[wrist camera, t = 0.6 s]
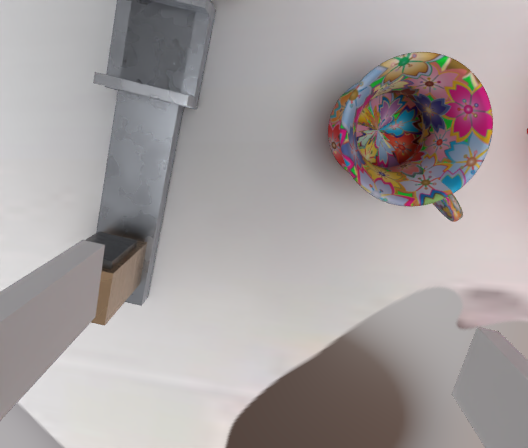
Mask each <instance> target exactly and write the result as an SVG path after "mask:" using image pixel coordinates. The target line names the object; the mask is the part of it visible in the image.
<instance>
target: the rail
mask: <svg viewBox="0 0 528 448" xmlns="http://www.w3.org/2000/svg"><path fill="white" fill-rule="evenodd" d="M215 12H216V9H215V7H214V6H213V4H212V3H211V2H210V0H117V5H116V12H115V19H114V26H113V33H112V40H111V47H110V53H109V60H108V67H107V74H106V75H105V74H101V73H97V72H95V75H94V82H93V83H95V84H100V85H104V86H105V87H107V88H111V89H115V90H118V94H117V101H116V107H115V114H114V120H113V127H112V133H111V140H110V147H109V153H108V160H107V166H106V173H105V179H104V186H103V193H102V199H101V206H100V212H99V219H98V225H97V232H96V234H94V235H93V236H91V237H89V238H88V239H86V240H85V241H90V242H94V243H99V244H103V245H105V249H104V256H103V264H102V271H101V279H100V286H99V294H98V301H97V309H96V316H95V318H94V319H93V320H92V321H91V322H92V323H96V324H101V325H105V324H106V323H107V322H108V321H109V320H110V319H111V317H112V316H113V315H114V314H115V313H116V311H117V310H118V309H119V308H120V307H121V306H122V304H123V303H124V302H128V303H132V304H137V305H141V306H142V304H143V303H144V302H145V300H146V299H147V298H148V294H149V289H150V283H151V278H152V273H153V268H154V262H155V257H156V252H157V246H158V241H159V236H160V230H161V225H162V220H163V215H164V209H165V204H166V199H167V193H168V188H169V183H170V177H171V172H172V167H173V162H174V156H175V151H176V146H177V140H178V135H179V130H180V124H181V119H182V114H183V109H184V107H188V108H193V109H197V104H198V99H199V94H200V89H201V84H202V79H203V73H204V68H205V63H206V58H207V53H208V48H209V43H210V38H211V33H212V27H213V22H214V17H215Z"/></svg>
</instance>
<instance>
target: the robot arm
mask: <svg viewBox="0 0 528 448" xmlns="http://www.w3.org/2000/svg"><path fill="white" fill-rule="evenodd" d="M104 249H105V245H103V244H99V243H94V242H90V241H85V240H82V241H80V242H79V243H77V244H76V245H74V246H72V247H71V248H69V249H68V250H66V251H65V252H63V253H61V254H60V255H58V256H57V257H55V258H53V259H52V260H50V261H49V262H47V263H45V264H44V265H42V266H41V267H39V268H37V269H36V270H34V271H33V272H31V273H30V274H28V275H26V276H25V277H23V278H22V279H20V280H18V281H17V282H15V283H14V284H12V285H10V286H9V287H7V288H6V289H4V290H3V291H1V292H0V421H1V420H2V419H3V417H5V415H6V414H7V413H8V412H9V411H10V410H11V409H12V408H13V407H14V406H15V404H16V403H17V402H18V401H19V400H20V399H21V398H22V397H23V396H24V395H25V394H26V392H27V391H28V390H29V389H30V388H31V387H32V386H33V385H34V384H35V383H36V382H37V380H38V379H39V378H40V377H41V376H42V375H43V374H44V373H45V372H46V371H47V370H48V368H49V367H50V366H51V365H52V364H53V363H54V362H55V361H56V360H57V359H58V357H59V356H60V355H61V354H62V353H63V352H64V351H65V350H66V349H67V348H68V347H69V345H70V344H71V343H72V342H73V341H74V340H75V339H76V338H77V337H78V336H79V335H80V333H81V332H82V331H83V330H84V329H85V328H86V327H87V326H88V325H89V324H90V322H91V321H92V320H93V319H94V318H95V316H96V309H97V301H98V294H99V286H100V279H101V271H102V264H103V256H104ZM452 396H453V397H454V399H455V400H456V402H457V403H458V405H459V407H460V408H461V410H462V412H463V413H464V415H465V416H466V418H467V420H468V421H469V423H470V424H471V426H472V428H473V429H474V431H475V432H476V434H477V435H478V437H479V439H480V440H481V442H482V443H483V445H484V446H485V448H528V359H526V358H525V357H524V356H523V355H522V354H521V353H520V352H519V351H518V350H517V349H516V348H515V347H514V346H513V345H512V344H511V343H510V342H509V341H508V340H507V339H506V338H505V337H504V336H503V335H502V334H501V333H500V332H499V331H495V330H490V329H485V328H481V327H477V329H476V332H475V334H474V337H473V339H472V342H471V345H470V348H469V350H468V353H467V355H466V358H465V360H464V363H463V365H462V368H461V371H460V373H459V376H458V379H457V381H456V384H455V386H454V389H453V392H452Z"/></svg>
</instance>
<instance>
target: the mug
mask: <svg viewBox="0 0 528 448" xmlns="http://www.w3.org/2000/svg"><path fill="white" fill-rule="evenodd" d="M492 129H493V116H492V109H491V105H490V101H489V98H488V96H487V93H486V91H485V89H484V87H483V86H482V84H481V82H480V81H479V80H478V78H477V77H476V76H475V75H474V74H473V73H472V72H471V71H470V70H469V69H468V68H467V67H466V66H464V65H463V64H461V63H460V62H458V61H456V60H454V59H452V58H450V57H447V56H445V55H441V54H437V53H430V52H414V53H408V54H403V55H400V56H397V57H394V58H392V59H389V60H387V61H385V62H383V63H382V64H380V65H378V66H377V67H375V68H374V69H373V70H372V71H370V72H369V73H368V74H367V75H366V76H365V77H364V78H363V79H362V80H361V81H360V82H359V83H357V84H355V85H354V86H352V87H351V88H350V89H348V90H347V91H346V92H345V93H344V94H343V95H342V96H341V97H340V99H339V100H338V102H337V103H336V105H335V107H334V109H333V111H332V114H331V116H330V120H329V126H328V137H329V143H330V147H331V150H332V153H333V155H334V157H335V158H336V160H337V161H338V163H339V164H340V165H341V166H342V167H343V168H344V169H345V170H346V171H348V172H349V173H350V174H351V175H352V177H353V178H354V180H355V181H356V182H357V183H358V184H359V185H360V186H361V187H362V188H363V189H364V190H365V191H367V192H368V193H369V194H371V195H372V196H374V197H376V198H377V199H380V200H382V201H384V202H387V203H390V204H394V205H399V206H421V205H427V204H431V203H433V204H434V206H435V207H436V208H437V209H438V210H439V211H440V212H441V213H442V214H443V215H444V216H445V217H446V218H448V219H449V220H450V221H453V222H455V221H458V220H459V219H461V218H462V216H463V212H462V209H461V207H460V205H459V203H458V201H457V200H456V198H455V197H454V195H453V193H455V192H456V191H458V190H459V189H460V188H461V187H463V186H464V185H465V184H466V183H467V182H468V181H469V180H470V179H471V178H472V177H473V176H474V174H475V173H476V172H477V170H478V169H479V167H480V166H481V164H482V162H483V161H484V158H485V156H486V154H487V151H488V149H489V145H490V142H491V137H492Z"/></svg>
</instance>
